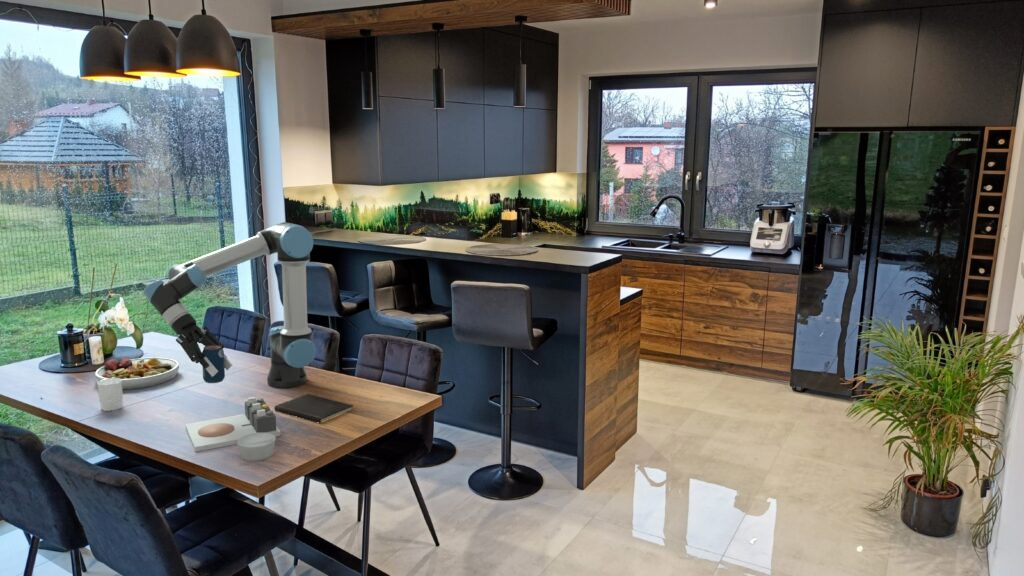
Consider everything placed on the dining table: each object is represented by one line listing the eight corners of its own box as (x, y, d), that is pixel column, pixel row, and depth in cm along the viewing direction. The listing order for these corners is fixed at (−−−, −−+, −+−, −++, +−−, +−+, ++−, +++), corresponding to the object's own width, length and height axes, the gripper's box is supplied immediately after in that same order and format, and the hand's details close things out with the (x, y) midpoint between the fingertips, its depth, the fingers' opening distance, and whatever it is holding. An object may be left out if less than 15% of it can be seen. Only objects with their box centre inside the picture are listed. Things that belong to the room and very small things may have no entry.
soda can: (229, 379, 250) (228, 346, 247) (213, 385, 243) (211, 350, 241) (214, 376, 252) (213, 343, 250) (198, 381, 246) (197, 347, 244)
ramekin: (257, 466, 215) (256, 449, 214) (229, 459, 219) (228, 442, 218) (284, 452, 225) (283, 436, 224) (256, 445, 229) (256, 429, 228)
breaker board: (265, 414, 256) (264, 392, 254) (280, 435, 237) (279, 411, 236) (185, 428, 242) (183, 404, 241) (195, 451, 224) (193, 426, 222)
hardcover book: (308, 399, 273) (308, 393, 273) (353, 411, 261) (353, 405, 261) (274, 412, 260) (274, 406, 259) (320, 425, 248) (320, 418, 247)
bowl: (194, 371, 305) (193, 353, 304) (147, 394, 276) (145, 374, 275) (131, 366, 310) (129, 349, 309) (78, 389, 281) (76, 369, 280)
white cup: (100, 413, 255) (97, 386, 253) (98, 406, 262) (96, 379, 260) (125, 409, 259) (122, 382, 258) (123, 402, 266) (121, 376, 264)
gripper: (193, 320, 258) (234, 369, 257) (152, 333, 239) (196, 386, 238) (205, 307, 256) (247, 356, 254) (165, 319, 237) (209, 372, 236)
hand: (222, 370), depth 246 cm, fingers closed on soda can, 7 cm apart
